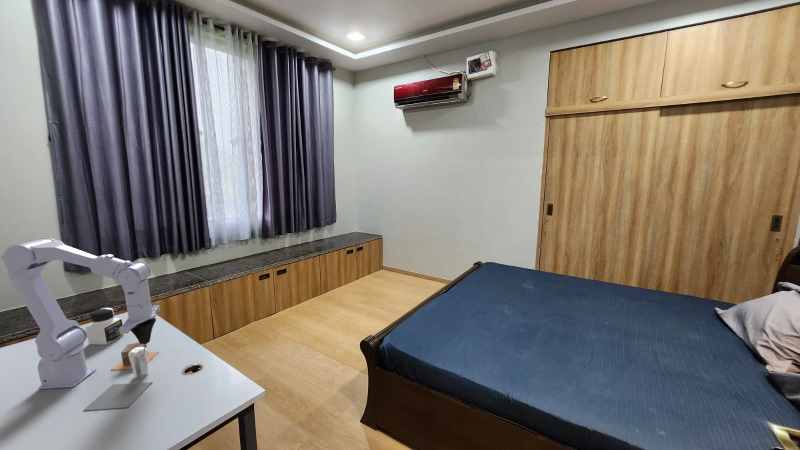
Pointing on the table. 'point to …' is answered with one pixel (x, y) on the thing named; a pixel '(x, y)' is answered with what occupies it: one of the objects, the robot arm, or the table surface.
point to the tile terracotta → (121, 367)
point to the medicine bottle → (103, 327)
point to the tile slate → (118, 396)
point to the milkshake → (139, 361)
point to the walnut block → (128, 349)
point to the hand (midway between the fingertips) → (144, 342)
